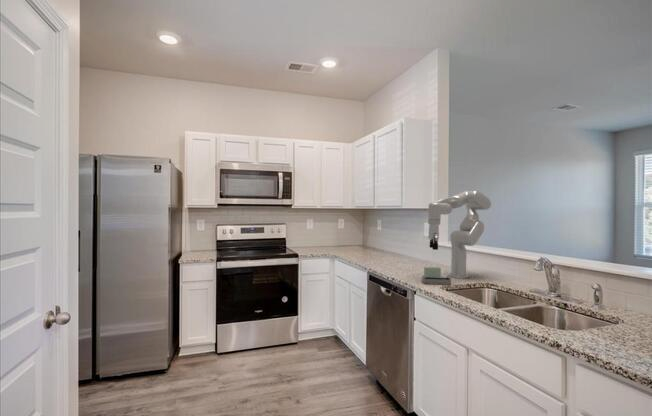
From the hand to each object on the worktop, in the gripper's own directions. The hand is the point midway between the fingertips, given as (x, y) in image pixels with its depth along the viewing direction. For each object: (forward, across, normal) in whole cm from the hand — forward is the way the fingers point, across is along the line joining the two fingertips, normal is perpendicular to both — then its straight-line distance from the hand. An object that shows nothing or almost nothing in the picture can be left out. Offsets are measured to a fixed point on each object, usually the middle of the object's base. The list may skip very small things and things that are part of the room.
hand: (433, 248), depth 211 cm
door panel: (+21, -2, 0) cm, 21 cm away
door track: (+21, +8, 0) cm, 22 cm away
